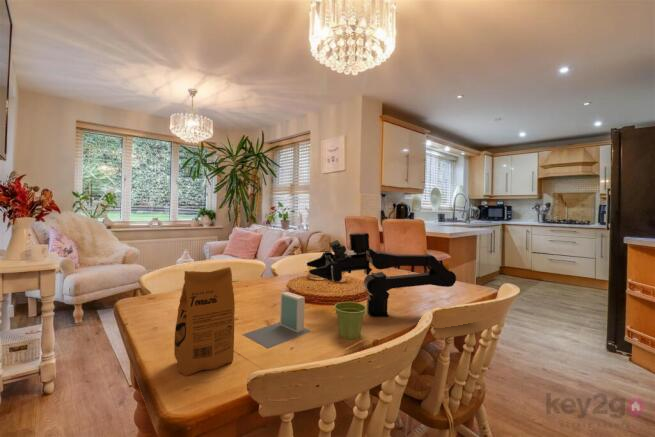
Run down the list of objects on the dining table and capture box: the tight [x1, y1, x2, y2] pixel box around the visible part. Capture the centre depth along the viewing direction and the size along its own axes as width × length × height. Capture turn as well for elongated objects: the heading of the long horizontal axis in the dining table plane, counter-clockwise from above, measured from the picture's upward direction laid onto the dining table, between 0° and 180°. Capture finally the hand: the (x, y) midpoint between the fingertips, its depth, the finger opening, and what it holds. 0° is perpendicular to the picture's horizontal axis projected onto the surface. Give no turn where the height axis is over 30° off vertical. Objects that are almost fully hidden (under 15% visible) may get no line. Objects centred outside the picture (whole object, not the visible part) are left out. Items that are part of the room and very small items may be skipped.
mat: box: [242, 321, 312, 349], centre depth 88 cm, size 16×12×1 cm
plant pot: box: [333, 301, 367, 340], centre depth 88 cm, size 9×9×9 cm
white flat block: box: [279, 291, 306, 333], centre depth 92 cm, size 3×8×10 cm, turn 48°
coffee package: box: [173, 266, 236, 377], centre depth 70 cm, size 10×12×22 cm
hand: (308, 268), depth 104 cm, fingers open, 9 cm apart
